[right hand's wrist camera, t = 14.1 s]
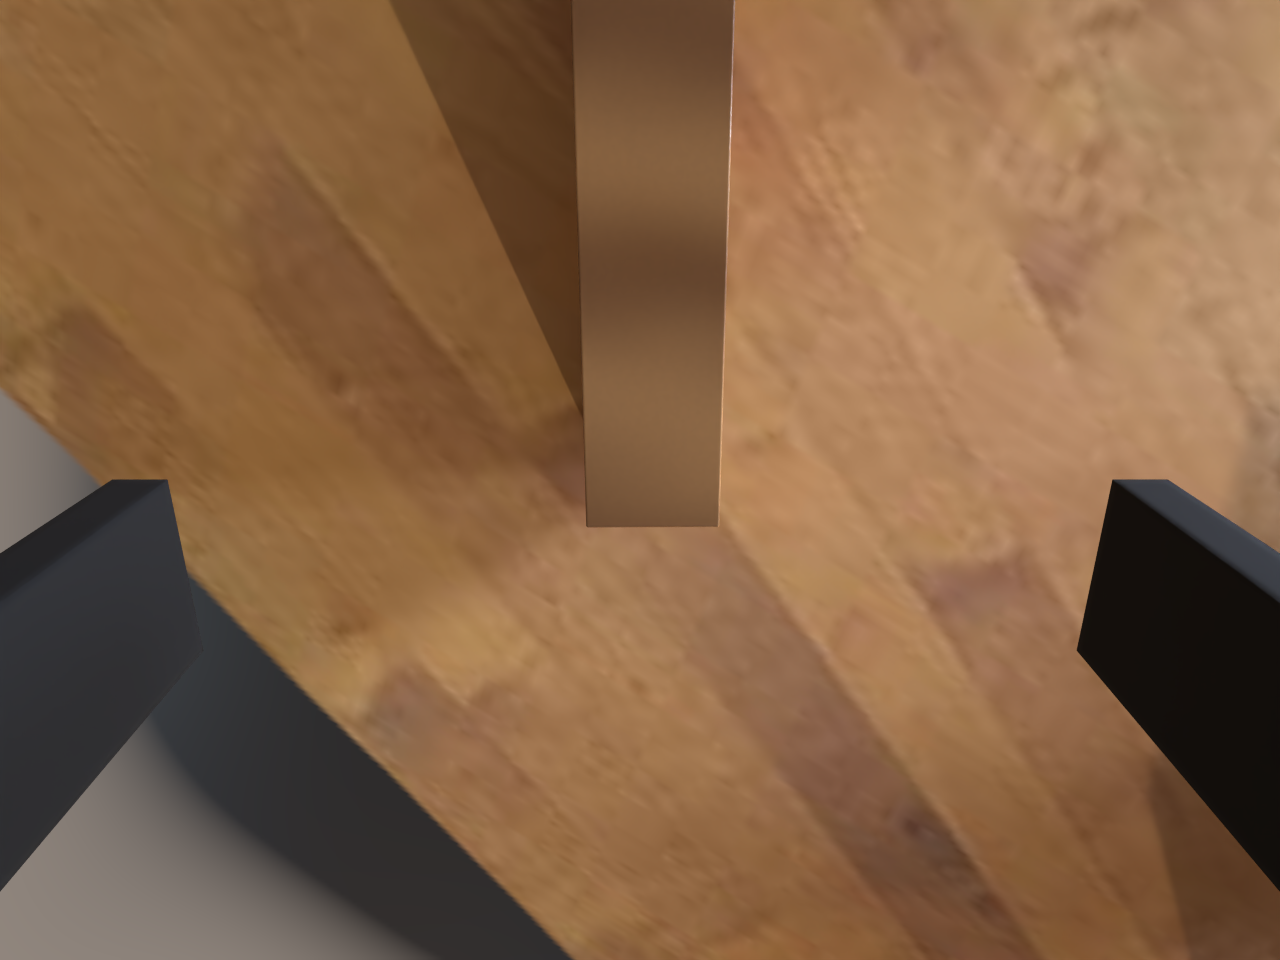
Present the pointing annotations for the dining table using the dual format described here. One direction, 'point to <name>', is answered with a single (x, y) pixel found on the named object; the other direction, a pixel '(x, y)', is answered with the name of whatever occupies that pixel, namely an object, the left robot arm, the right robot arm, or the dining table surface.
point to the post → (652, 254)
